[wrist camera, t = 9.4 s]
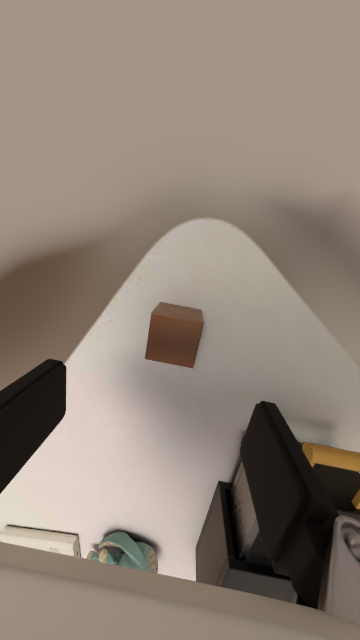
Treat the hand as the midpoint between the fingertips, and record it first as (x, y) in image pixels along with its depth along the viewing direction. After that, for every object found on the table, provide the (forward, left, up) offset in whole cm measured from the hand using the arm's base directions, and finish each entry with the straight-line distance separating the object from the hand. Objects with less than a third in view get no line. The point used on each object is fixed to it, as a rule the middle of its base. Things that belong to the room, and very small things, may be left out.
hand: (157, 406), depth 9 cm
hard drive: (+44, -15, -12) cm, 48 cm away
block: (0, 0, -12) cm, 12 cm away
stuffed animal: (+40, -1, -12) cm, 42 cm away
